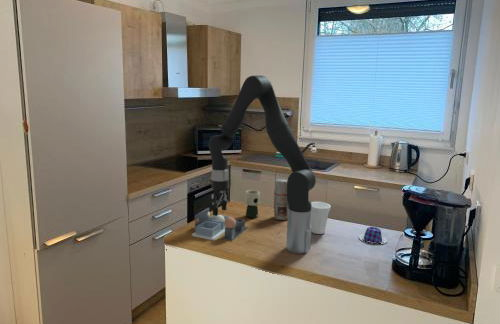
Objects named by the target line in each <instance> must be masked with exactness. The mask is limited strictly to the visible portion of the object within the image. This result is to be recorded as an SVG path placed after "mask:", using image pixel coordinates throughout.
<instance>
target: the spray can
mask: <svg viewBox="0 0 500 324" xmlns="http://www.w3.org/2000/svg"><path fill="white" fill-rule="evenodd" d="M287 180H288V179H279V178H278V179H277V178H276V179H275V183H274V192H273V194H274V195H273V197H274V198H273V200H274V202H273V205H274V206H273V207H274V208H273V214H274V215H273V216H274V217H273V218H274V219H275V220H277V221H278V220H279V221H288V203H287Z"/></svg>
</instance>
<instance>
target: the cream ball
mask: <svg viewBox="0 0 500 324" xmlns="http://www.w3.org/2000/svg"><path fill="white" fill-rule="evenodd" d="M222 215H223V214H218V215H217V216H215V218H214V220H216V221H221V222H223V221H224V220H225V219H224V217H223V216H222Z"/></svg>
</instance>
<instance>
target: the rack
mask: <svg viewBox="0 0 500 324" xmlns="http://www.w3.org/2000/svg"><path fill="white" fill-rule="evenodd" d="M221 215H222V216H223V217H224V219H226V218H228V217H230V216H229V215H223V214H221ZM214 218H215V215H212V216H209V219H207V221H204V222H202V223H201V224H199V225H198V226H196V232H195V231H194V232H193V233H192V234H191V236H192V237H195V238H201V239H204V240H209V241H216V240H217V239H218V238H219V237H221V236H222V235H223V234H224V235H225V228H226V226H225V224H224V222H225V220H224V221H223V222H221V221H216V220H214Z"/></svg>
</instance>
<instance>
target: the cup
mask: <svg viewBox="0 0 500 324" xmlns="http://www.w3.org/2000/svg"><path fill="white" fill-rule="evenodd" d="M310 202H311V205H312V206H311V222H310V226H311V227H312V228H311V233H313V234H317V235H322V234H325V231H326V227H327V224H328V223H327V221H328V217H329V213H330V211H331V207H332V206H331V204H329V203H327V202H324V201H310Z"/></svg>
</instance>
